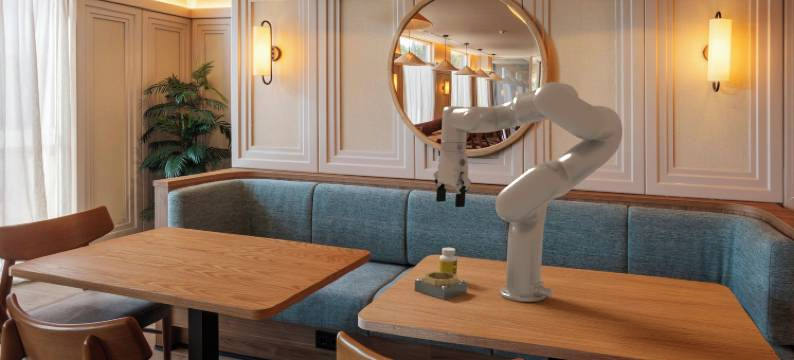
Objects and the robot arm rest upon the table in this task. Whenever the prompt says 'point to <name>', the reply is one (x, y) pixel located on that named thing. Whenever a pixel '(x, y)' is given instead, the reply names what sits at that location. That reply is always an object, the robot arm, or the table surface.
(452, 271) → the supplement bottle
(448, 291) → the octagonal bottle holder
